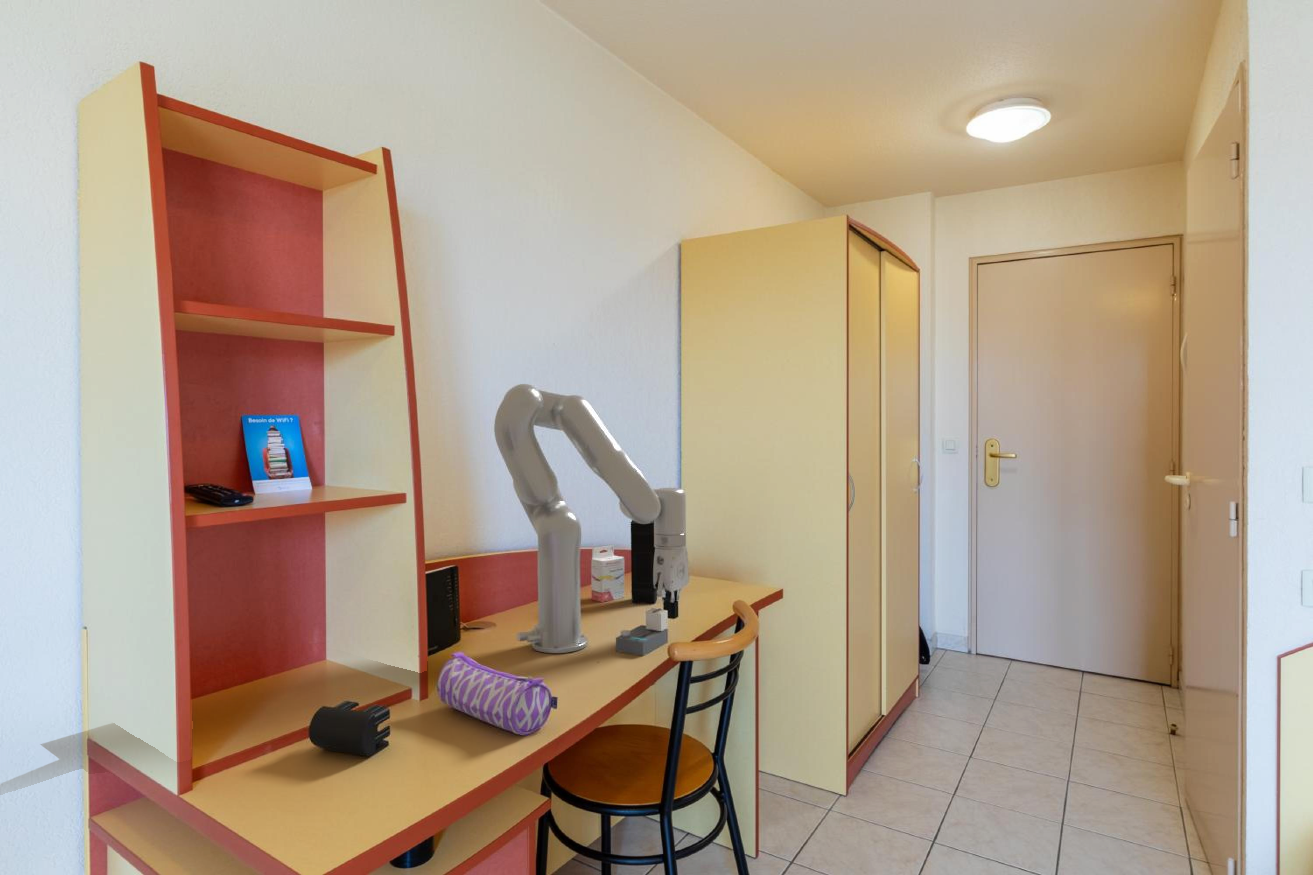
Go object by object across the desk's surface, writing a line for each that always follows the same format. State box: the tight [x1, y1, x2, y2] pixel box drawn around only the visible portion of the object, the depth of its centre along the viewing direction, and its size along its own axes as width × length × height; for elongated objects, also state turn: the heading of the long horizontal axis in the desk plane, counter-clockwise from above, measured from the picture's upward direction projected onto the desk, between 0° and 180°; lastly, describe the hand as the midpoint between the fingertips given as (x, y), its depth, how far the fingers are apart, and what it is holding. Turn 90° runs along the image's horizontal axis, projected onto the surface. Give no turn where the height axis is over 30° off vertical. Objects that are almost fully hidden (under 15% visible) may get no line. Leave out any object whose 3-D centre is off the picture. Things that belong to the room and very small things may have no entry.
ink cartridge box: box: [590, 544, 625, 603], centre depth 206 cm, size 9×5×15 cm, turn 133°
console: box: [615, 624, 669, 657], centre depth 163 cm, size 11×7×4 cm, turn 150°
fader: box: [645, 608, 669, 631], centre depth 165 cm, size 3×4×4 cm
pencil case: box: [436, 651, 558, 736], centre depth 124 cm, size 22×9×10 cm, turn 55°
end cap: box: [308, 700, 391, 758], centre depth 113 cm, size 10×7×7 cm
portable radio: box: [630, 519, 658, 605], centre depth 203 cm, size 8×6×25 cm
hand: (670, 617), depth 171 cm, fingers closed
